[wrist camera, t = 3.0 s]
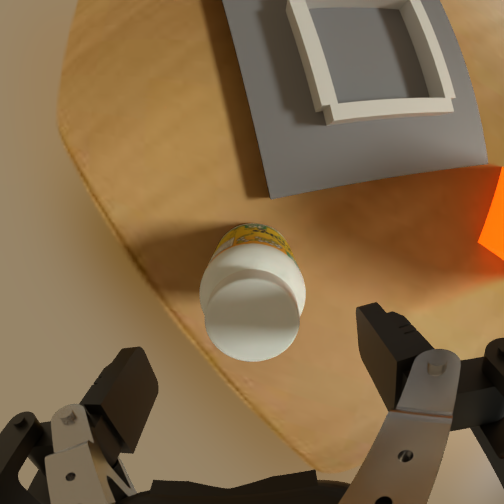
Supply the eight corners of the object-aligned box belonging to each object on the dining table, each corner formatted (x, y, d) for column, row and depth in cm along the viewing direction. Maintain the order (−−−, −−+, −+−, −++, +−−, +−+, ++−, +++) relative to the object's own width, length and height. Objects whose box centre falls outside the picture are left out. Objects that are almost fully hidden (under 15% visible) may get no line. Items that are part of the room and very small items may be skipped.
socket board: (217, -17, 16) (211, -41, 13) (418, -21, 15) (434, -38, 11) (270, 197, 20) (272, 202, 17) (477, 163, 19) (503, 164, 16)
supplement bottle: (200, 261, 22) (162, 323, 12) (251, 205, 21) (245, 231, 11) (256, 308, 23) (254, 392, 13) (307, 257, 22) (341, 318, 12)
